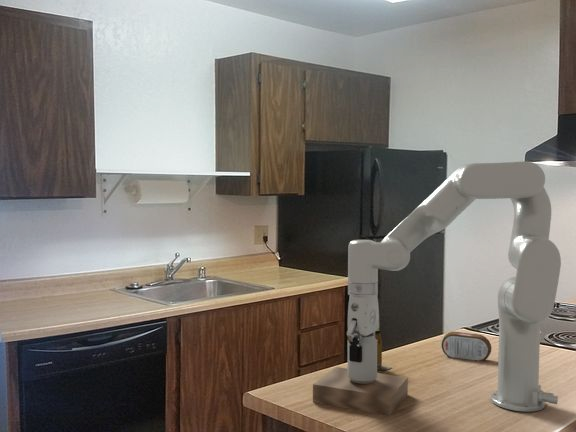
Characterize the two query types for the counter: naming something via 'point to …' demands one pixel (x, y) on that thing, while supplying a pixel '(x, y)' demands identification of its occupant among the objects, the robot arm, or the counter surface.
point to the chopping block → (361, 392)
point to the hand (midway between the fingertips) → (362, 357)
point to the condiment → (379, 352)
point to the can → (364, 361)
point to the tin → (466, 346)
